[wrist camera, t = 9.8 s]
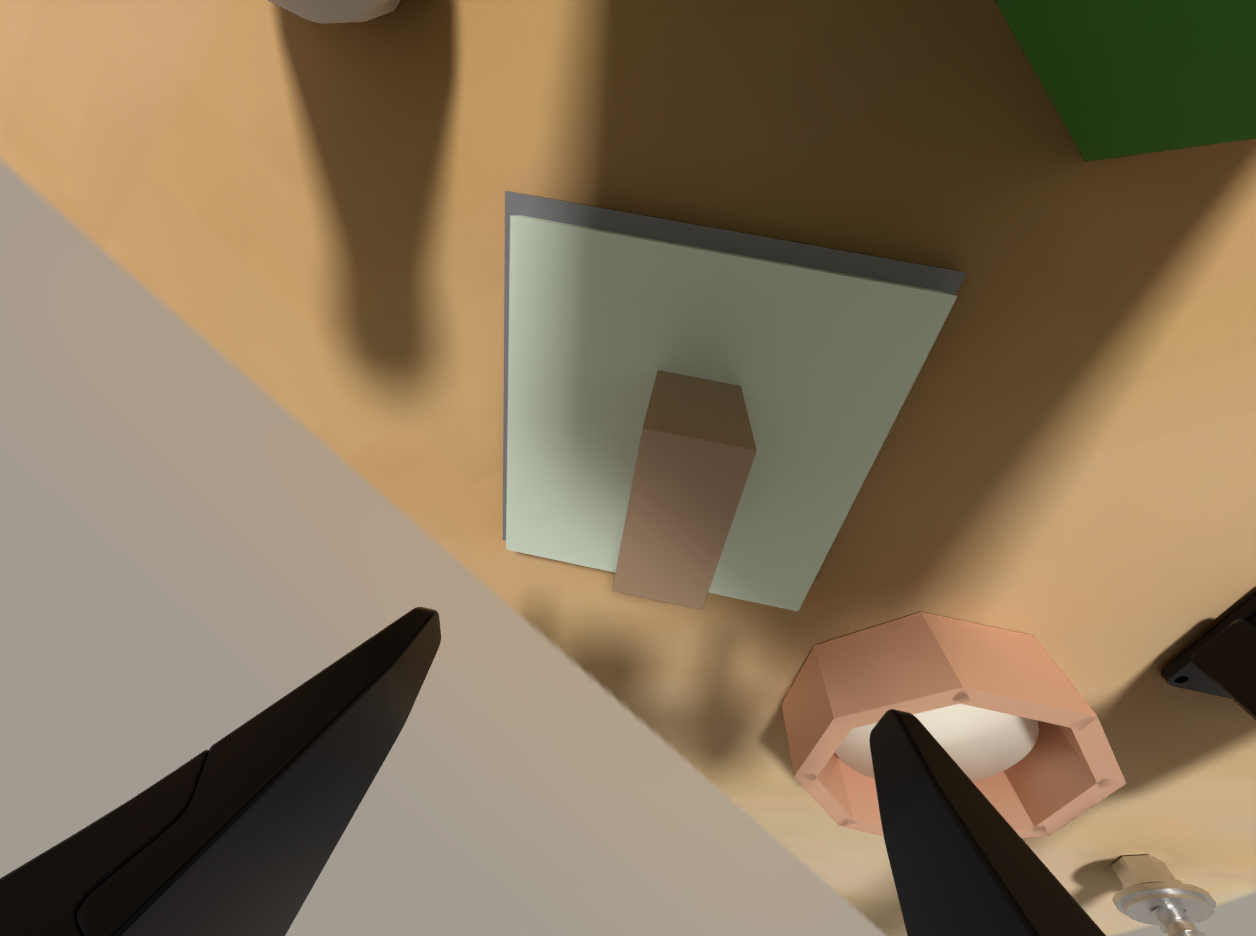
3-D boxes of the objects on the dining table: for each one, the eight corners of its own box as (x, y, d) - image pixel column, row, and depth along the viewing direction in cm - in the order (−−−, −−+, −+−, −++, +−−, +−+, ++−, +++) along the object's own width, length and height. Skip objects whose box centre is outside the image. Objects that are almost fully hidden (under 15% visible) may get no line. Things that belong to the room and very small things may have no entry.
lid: (942, 291, 14) (1079, 334, 9) (794, 595, 21) (824, 716, 16) (520, 215, 15) (426, 216, 10) (513, 536, 22) (456, 634, 17)
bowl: (1114, 652, 21) (1195, 737, 18) (967, 784, 28) (1005, 864, 24) (842, 595, 22) (869, 666, 18) (762, 737, 28) (770, 810, 25)
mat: (956, 270, 14) (966, 273, 14) (798, 594, 22) (800, 602, 22) (512, 192, 15) (505, 191, 15) (507, 532, 23) (502, 539, 22)
